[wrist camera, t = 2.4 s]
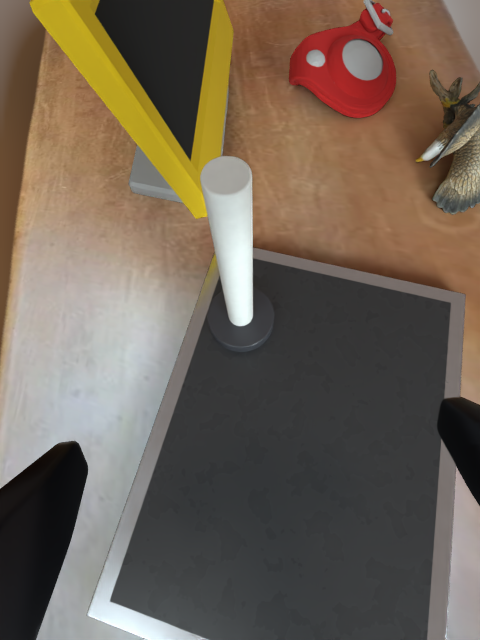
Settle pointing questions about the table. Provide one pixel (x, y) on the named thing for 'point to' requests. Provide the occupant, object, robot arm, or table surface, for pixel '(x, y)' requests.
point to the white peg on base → (234, 257)
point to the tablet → (297, 470)
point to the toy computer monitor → (154, 81)
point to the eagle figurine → (457, 147)
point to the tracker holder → (348, 64)
